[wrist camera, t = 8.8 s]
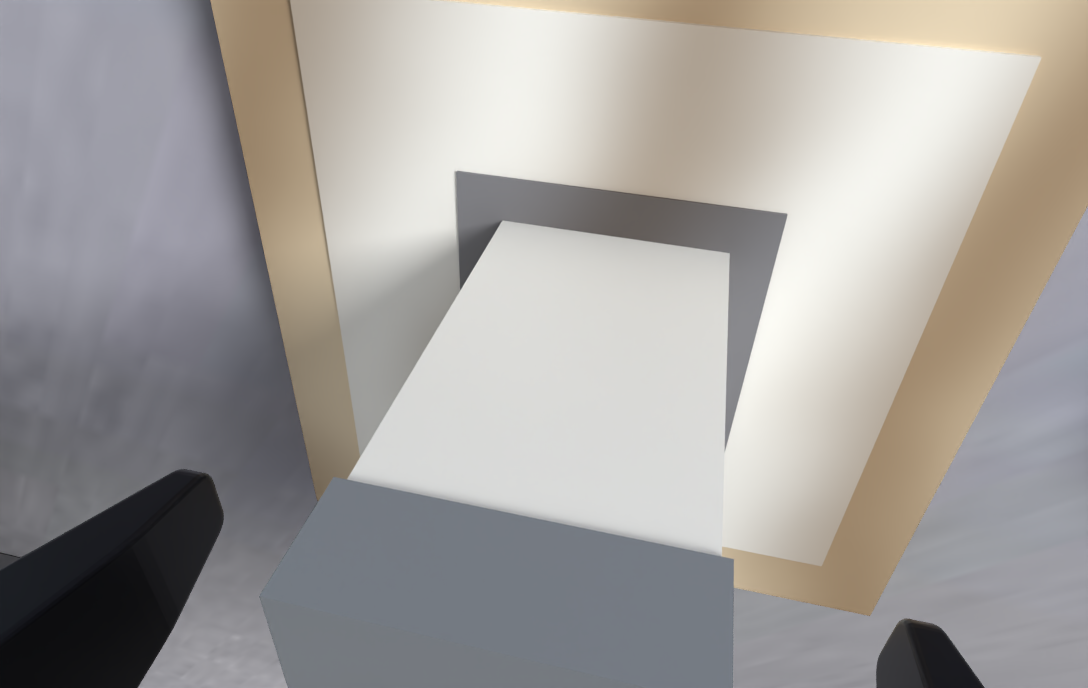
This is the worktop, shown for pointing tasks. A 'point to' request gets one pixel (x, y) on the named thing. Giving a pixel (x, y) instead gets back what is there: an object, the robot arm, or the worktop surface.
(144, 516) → the robot arm
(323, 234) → the picture frame
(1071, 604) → the worktop surface
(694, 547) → the two-tone grey block
